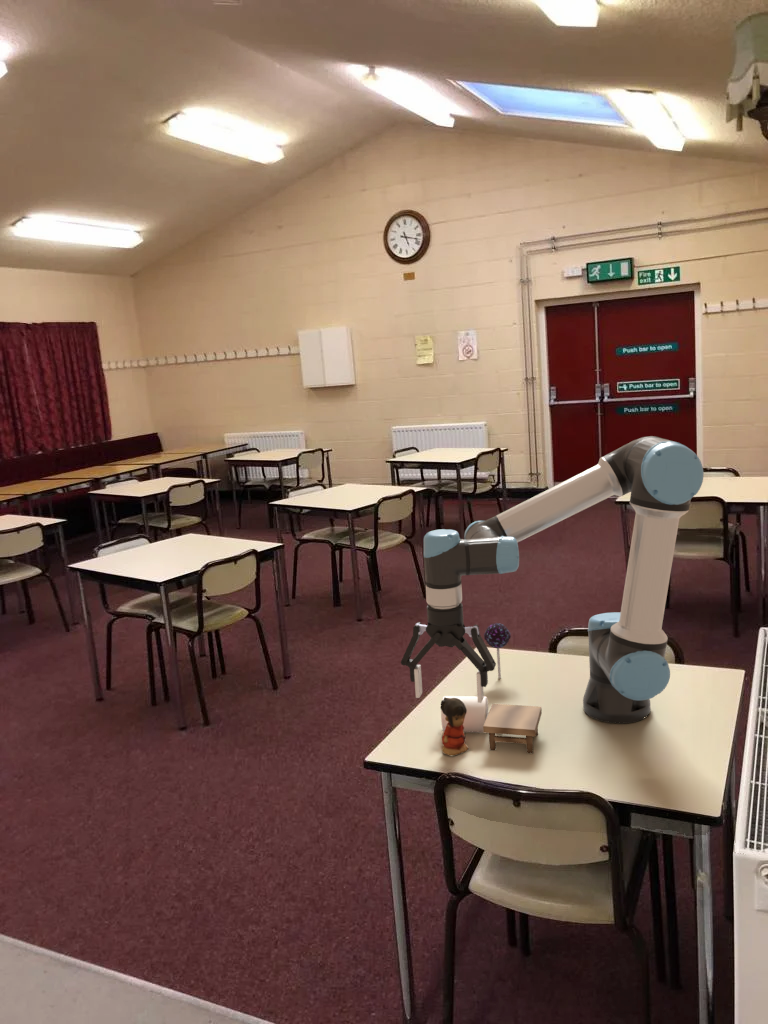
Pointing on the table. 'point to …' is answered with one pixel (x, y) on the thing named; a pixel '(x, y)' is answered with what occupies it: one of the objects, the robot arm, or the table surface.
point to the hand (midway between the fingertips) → (449, 697)
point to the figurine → (454, 726)
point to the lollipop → (497, 639)
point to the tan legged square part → (512, 724)
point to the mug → (471, 713)
